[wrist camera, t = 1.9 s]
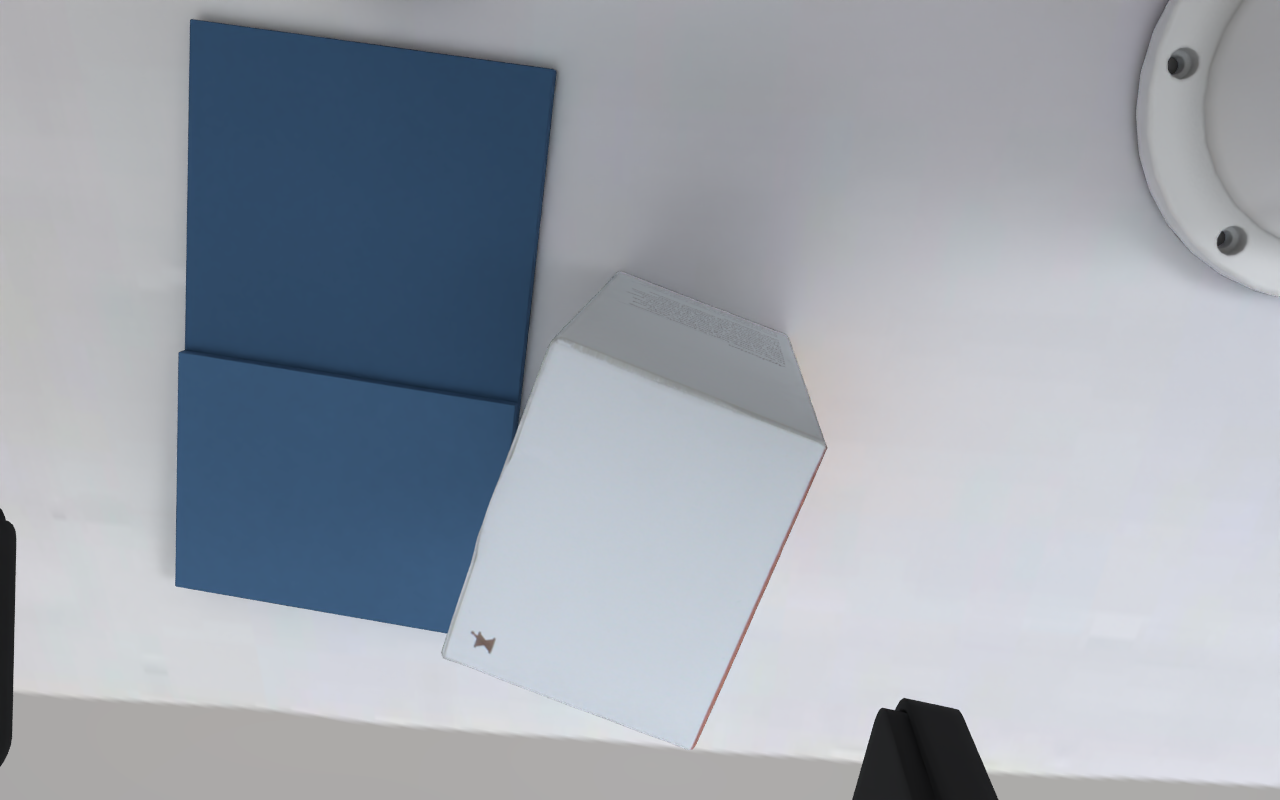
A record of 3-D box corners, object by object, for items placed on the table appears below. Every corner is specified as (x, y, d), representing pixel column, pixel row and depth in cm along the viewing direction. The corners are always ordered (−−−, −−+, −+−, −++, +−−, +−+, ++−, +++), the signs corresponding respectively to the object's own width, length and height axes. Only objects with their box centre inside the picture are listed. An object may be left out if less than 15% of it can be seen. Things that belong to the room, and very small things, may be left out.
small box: (707, 540, 34) (692, 763, 22) (540, 477, 34) (429, 662, 22) (795, 331, 32) (835, 443, 20) (617, 263, 32) (543, 332, 20)
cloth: (557, 70, 31) (552, 68, 30) (496, 629, 36) (490, 641, 35) (197, 21, 32) (182, 17, 31) (188, 576, 37) (174, 586, 36)
